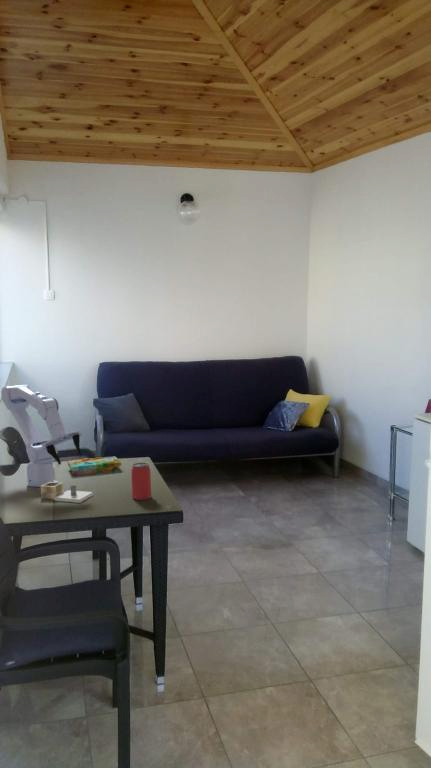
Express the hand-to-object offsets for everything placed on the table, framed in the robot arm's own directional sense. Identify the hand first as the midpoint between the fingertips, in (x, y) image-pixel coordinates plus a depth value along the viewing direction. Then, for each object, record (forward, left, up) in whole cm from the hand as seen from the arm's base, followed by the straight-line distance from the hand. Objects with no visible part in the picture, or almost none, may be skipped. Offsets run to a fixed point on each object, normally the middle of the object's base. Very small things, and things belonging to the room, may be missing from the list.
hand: (70, 459), depth 239 cm
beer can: (+26, +3, -13) cm, 30 cm away
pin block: (+3, -3, -13) cm, 14 cm away
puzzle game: (-10, +33, -14) cm, 37 cm away
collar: (-6, -4, -13) cm, 15 cm away
